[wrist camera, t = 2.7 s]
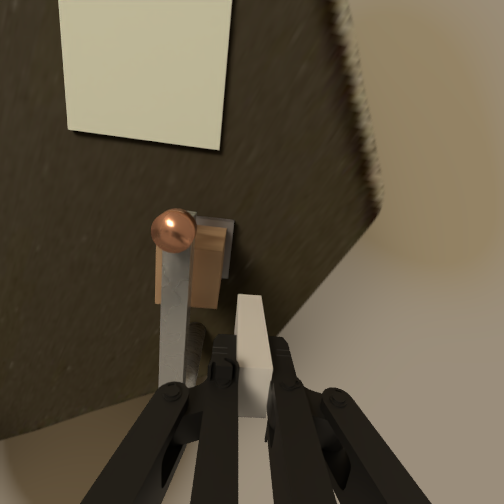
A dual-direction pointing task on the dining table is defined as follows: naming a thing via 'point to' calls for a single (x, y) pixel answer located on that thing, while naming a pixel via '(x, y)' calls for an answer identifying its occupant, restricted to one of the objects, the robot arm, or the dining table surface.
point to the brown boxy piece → (205, 261)
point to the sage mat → (146, 68)
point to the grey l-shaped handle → (177, 298)
